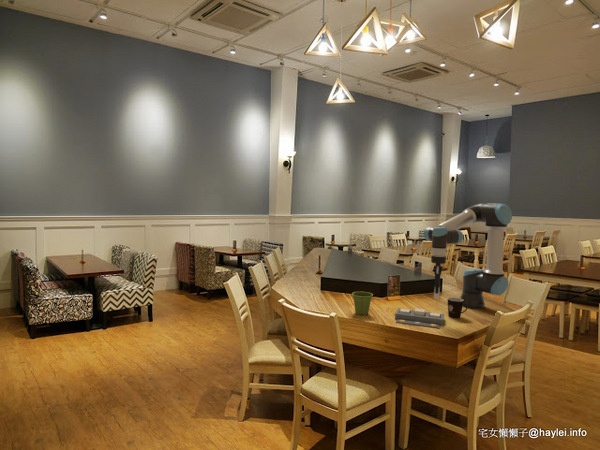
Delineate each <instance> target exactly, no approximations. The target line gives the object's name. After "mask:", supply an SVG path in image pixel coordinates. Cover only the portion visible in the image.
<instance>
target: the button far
mask: <svg viewBox="0 0 600 450" xmlns="http://www.w3.org/2000/svg"><path fill="white" fill-rule="evenodd" d="M400 309H401V310H400V313H406V314H410V310H411V309H408V310H407V309H405V308H400Z"/></svg>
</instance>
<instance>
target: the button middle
mask: <svg viewBox="0 0 600 450" xmlns="http://www.w3.org/2000/svg"><path fill="white" fill-rule="evenodd" d="M414 310H415V315H421V316H424V315H425V312H426V309H422V308H415V309H414Z"/></svg>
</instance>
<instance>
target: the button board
mask: <svg viewBox="0 0 600 450" xmlns="http://www.w3.org/2000/svg"><path fill="white" fill-rule="evenodd" d="M401 309H402V308H399V307H398V308H397V310H396V312H395V314H394V319H395V320H397V319H404V320H411V321H419V322H426V323H433V324H440V326H443V325H444V320H445V314H444V313H439V312H437V313H438V314H440V318H437V317H430V313H433V312H430V311H425V315H424V316H421V315H415V309H407V310H410V314H406V313H400V310H401Z"/></svg>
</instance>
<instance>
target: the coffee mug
mask: <svg viewBox="0 0 600 450" xmlns="http://www.w3.org/2000/svg"><path fill="white" fill-rule="evenodd" d="M446 299H447V314H448V317H449V318H452V319H461V317H462V314H464V313H465V312H466V311H467V310H468V308H467V306H466V305H465V304H463V301H464V300H463V299H460V297H447V298H446ZM463 305H465V306H466V307H465V310H463Z"/></svg>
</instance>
